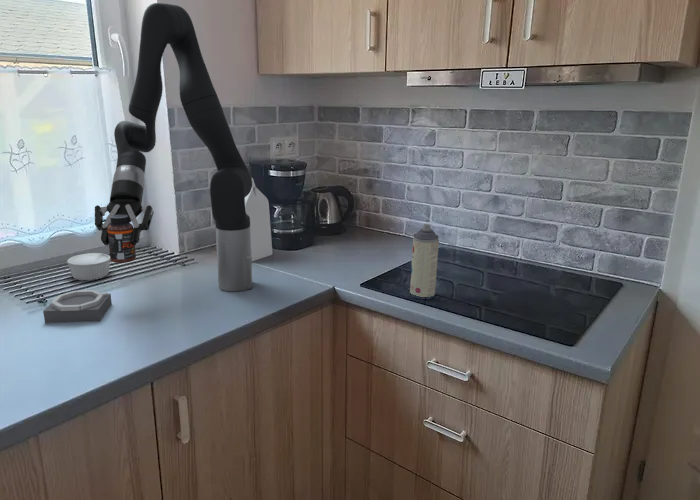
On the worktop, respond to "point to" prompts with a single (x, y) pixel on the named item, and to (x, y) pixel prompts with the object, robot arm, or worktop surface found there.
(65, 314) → the octagonal shallow tray
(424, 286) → the aerosol can
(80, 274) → the ramekin
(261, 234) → the milk
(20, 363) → the worktop surface
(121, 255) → the supplement bottle
